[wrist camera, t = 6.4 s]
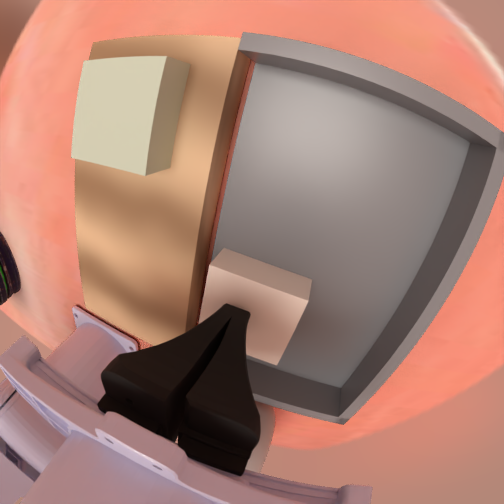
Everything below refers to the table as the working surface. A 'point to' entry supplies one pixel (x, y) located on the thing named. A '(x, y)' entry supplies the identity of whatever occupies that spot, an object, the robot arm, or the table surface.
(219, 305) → the cream tile
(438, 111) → the box
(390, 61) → the table surface
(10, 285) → the storage jar
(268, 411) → the donut
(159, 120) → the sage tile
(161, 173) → the oak board
